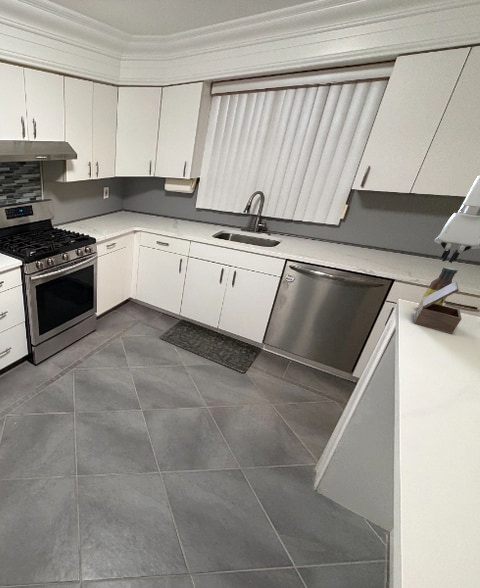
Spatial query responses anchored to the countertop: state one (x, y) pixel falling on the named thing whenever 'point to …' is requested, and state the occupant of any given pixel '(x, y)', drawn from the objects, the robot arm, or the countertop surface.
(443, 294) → the hatch
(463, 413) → the countertop surface
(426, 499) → the countertop surface
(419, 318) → the walnut box
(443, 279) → the sauce bottle
